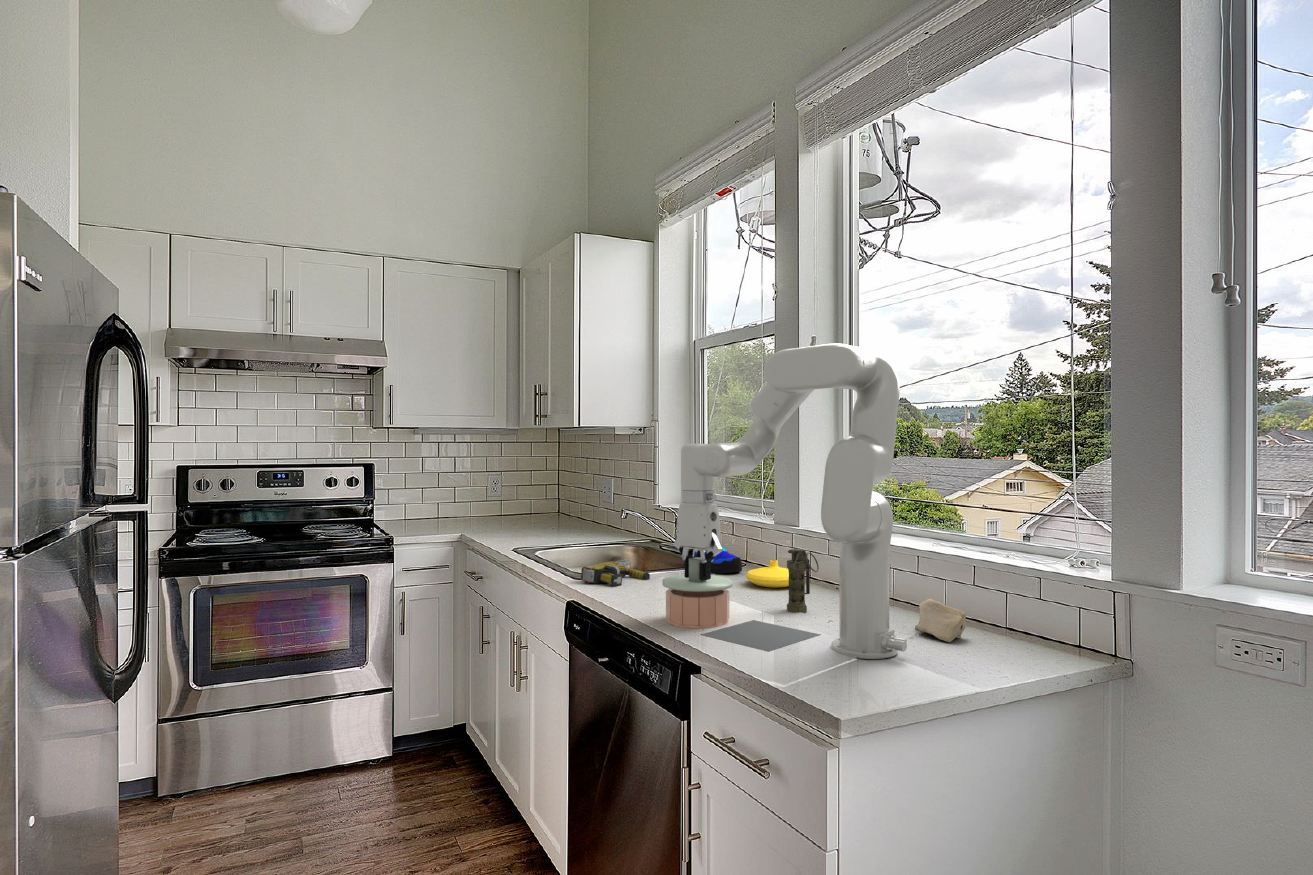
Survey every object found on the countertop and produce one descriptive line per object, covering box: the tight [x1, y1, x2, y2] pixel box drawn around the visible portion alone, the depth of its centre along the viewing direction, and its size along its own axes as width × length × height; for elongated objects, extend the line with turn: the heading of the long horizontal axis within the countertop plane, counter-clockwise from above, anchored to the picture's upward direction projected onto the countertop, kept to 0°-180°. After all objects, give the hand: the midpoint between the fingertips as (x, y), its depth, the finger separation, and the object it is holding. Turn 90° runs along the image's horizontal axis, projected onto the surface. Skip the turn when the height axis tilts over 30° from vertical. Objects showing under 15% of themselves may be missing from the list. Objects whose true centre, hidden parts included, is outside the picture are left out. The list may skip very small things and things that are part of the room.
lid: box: [661, 557, 734, 592], centre depth 177 cm, size 16×16×6 cm
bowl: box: [665, 588, 730, 629], centre depth 177 cm, size 14×14×7 cm
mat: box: [699, 619, 822, 652], centre depth 165 cm, size 18×18×1 cm
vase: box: [745, 559, 789, 589], centre depth 220 cm, size 16×16×7 cm
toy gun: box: [580, 559, 651, 587], centre depth 230 cm, size 5×24×15 cm
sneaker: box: [694, 544, 743, 575], centre depth 245 cm, size 9×24×15 cm, turn 30°
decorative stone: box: [914, 598, 967, 643], centre depth 165 cm, size 7×13×7 cm, turn 28°
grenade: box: [786, 548, 819, 614], centre depth 187 cm, size 9×6×15 cm, turn 118°
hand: (697, 577), depth 177 cm, fingers closed on lid, 3 cm apart
